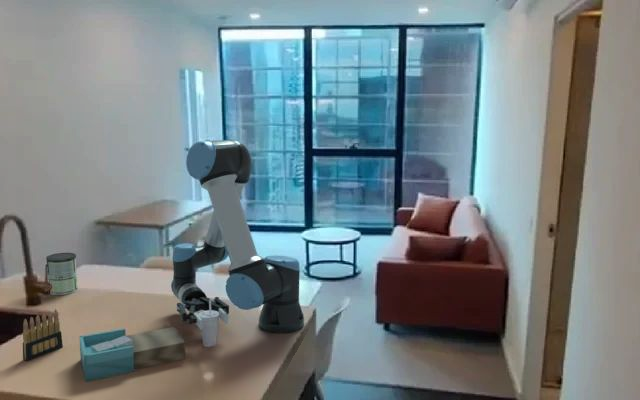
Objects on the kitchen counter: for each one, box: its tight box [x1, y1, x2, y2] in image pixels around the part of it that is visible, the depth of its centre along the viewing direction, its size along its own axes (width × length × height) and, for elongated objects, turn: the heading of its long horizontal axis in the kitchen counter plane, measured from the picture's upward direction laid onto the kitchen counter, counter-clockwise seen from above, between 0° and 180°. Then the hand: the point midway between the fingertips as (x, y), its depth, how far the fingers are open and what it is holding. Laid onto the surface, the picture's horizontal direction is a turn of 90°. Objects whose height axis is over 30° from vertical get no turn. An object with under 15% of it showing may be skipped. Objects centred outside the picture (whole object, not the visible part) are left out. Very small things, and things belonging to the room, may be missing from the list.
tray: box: [78, 328, 135, 383], centre depth 138 cm, size 12×14×7 cm
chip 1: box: [91, 341, 116, 353], centre depth 135 cm, size 4×4×2 cm
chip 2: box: [109, 335, 133, 349], centre depth 138 cm, size 4×4×2 cm
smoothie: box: [197, 299, 220, 348], centre depth 152 cm, size 6×6×14 cm
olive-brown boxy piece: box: [126, 326, 186, 371], centre depth 145 cm, size 14×12×5 cm
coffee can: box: [45, 252, 79, 296], centre depth 196 cm, size 10×10×14 cm
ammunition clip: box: [22, 308, 64, 362], centre depth 144 cm, size 11×2×12 cm, turn 149°
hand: (214, 322), depth 147 cm, fingers open, 7 cm apart
